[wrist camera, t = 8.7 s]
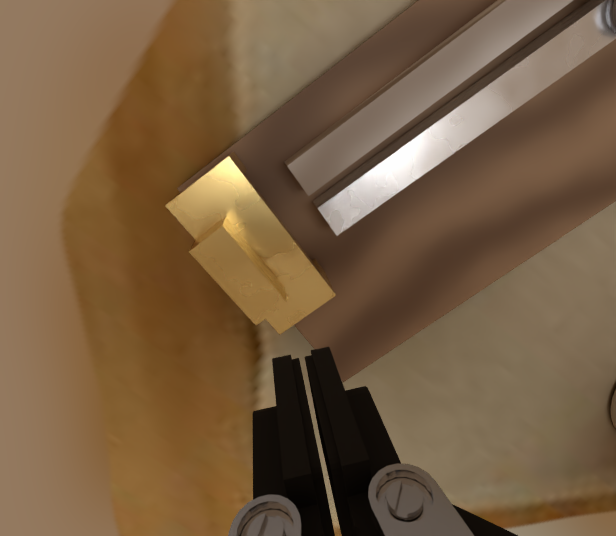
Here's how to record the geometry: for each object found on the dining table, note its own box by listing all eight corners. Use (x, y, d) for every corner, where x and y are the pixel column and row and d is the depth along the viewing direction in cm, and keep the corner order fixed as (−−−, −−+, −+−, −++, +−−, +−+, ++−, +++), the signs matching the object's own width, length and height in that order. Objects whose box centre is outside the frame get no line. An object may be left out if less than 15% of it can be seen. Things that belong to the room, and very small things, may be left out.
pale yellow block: (325, 272, 25) (343, 311, 20) (276, 306, 25) (281, 353, 20) (233, 151, 22) (225, 159, 16) (179, 193, 22) (154, 214, 17)
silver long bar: (621, 25, 22) (669, 11, 19) (332, 230, 24) (341, 242, 22) (608, -21, 21) (657, -41, 18) (309, 197, 23) (315, 206, 21)
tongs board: (674, 145, 27) (741, 148, 23) (339, 370, 30) (350, 404, 26) (595, -138, 21) (669, -196, 17) (181, 184, 24) (167, 195, 20)
